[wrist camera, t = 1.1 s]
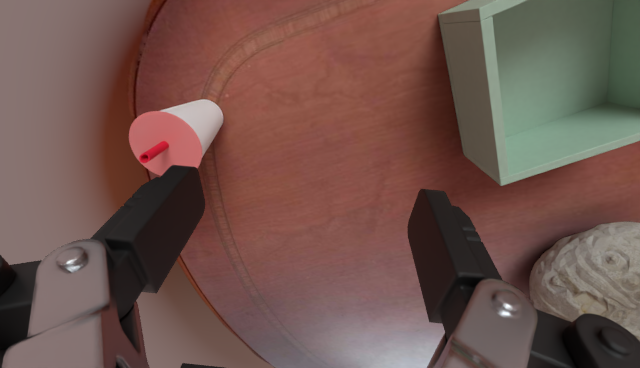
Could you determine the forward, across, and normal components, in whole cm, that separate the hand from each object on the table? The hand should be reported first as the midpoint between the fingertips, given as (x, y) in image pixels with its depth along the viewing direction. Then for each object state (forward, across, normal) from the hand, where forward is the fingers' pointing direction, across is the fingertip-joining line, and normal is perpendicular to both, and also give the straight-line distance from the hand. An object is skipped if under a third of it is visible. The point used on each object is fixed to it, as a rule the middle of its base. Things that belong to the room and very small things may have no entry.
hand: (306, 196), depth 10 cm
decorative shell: (+20, -37, +22) cm, 47 cm away
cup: (+19, +12, +6) cm, 23 cm away
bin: (+22, -19, -1) cm, 29 cm away
